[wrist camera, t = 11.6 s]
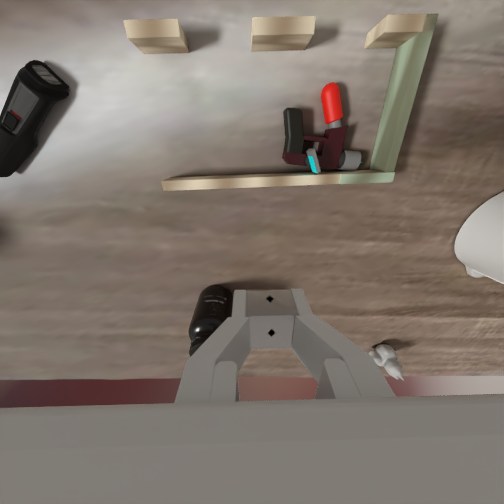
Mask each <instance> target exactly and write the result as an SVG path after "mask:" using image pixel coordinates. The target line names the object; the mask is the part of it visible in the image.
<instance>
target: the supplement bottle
mask: <svg viewBox="0 0 504 504" xmlns="http://www.w3.org/2000/svg"><path fill="white" fill-rule="evenodd" d="M232 308H233V295H232V293H231V292H230V291H229V290H228V289H226V288H224V287H221V286H210V287H208V288H206V289H204V290H203V291H202V292H201V294H200V296H199V299H198V302H197V305H196V308H195V311H194V314H193V317H192V320H191V324H190V327H189V337H190V339H191V341H192V342H191V347H190V351H189V355H190V357H191V356H192V355H193V354H194V353H195V352H196V351H197V350H198V348H199V347H200V346H201V345H202V344H203V343H204V342H205V341H206V340H207V339H208V338H209V337H210V336H211V335H212V334H213V333H214V332H215V331H216V329H217V328H218V327H219V326H220V325H221V324H222V323H223V322H224V321H225V320H226V319H227V318H228V317H232Z"/></svg>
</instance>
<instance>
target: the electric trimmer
mask: <svg viewBox="0 0 504 504" xmlns="http://www.w3.org/2000/svg"><path fill="white" fill-rule="evenodd" d="M68 88H69V86H68V85H67V84H66V83H65V82H64V81H63V80H62V79H61V78H60V77H59V76H57V75H56V74H55V73H54V72H53V71H52V70H51V69H50V68H49V67H48V66H47V65H46V64H45V63H43V62H41V61H38V60H33V61H30V62H28V63H27V64H26V65H25V67H23V68H22V69H20V70H19V72H18V74H17V76H16V77H15V79H14V82H13V84H12V87H11V90H10V92H9V95H8V97H7V100H6V102H5V105H4V107H3V110H2V112H1V115H0V177H8V176H10V175H12V174H13V173H14V172H15V171H16V170H17V169H18V167H19V166H20V165H21V164H22V163H23V162H24V161H25V160H26V159H27V157H28V156H29V155H30V154H31V153H32V152H33V150H34V149H35V148H36V147H37V141H36V138H35V135H36V133H37V131H38V130H39V128H40V126H41V125H42V123H43V121H44V120H45V118H46V116H47V115H48V113H49V111H50V109H51V108H52V106H53V104H54V103H55V101H58V100H61V99H64V98H66V97H67V96H68V95H69V94H68V92H67V90H68Z"/></svg>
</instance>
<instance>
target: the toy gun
mask: <svg viewBox="0 0 504 504" xmlns="http://www.w3.org/2000/svg"><path fill="white" fill-rule="evenodd" d="M321 99H322V105H323V111H324V117H325V123H326V124H329V129H327V130H325V132H324V137H314V136H305V135H303V116H302V110H301V109H296V108H286V109H285V110H284V112H283V114H284V126H285V136H286V138H285V145H284V152H283V157H282V158H283V159H284V161H285V162H286V163H287V164H292V165H303V166H308V167H311V169H312V172H314V173H319V172H321V170H320V167H321V168H331V169H338V170H347V171H355V170H356V169H357V168H358V167H359V165H360V163H363V162H361V153H360V152H358V151H348V150H343V151H342V147H343V143H344V140H345V136H346V132H347V128H348V126H344V127H342V125H341V118H343V111H342V104H341V96H340V89H339V86H338V84H336V83H334V82H332V83H329V84H327V85H326V86H325V87H324V88H323V90H322V93H321ZM304 141H313V142H319V146H318V151H317V155H316V151H315V148H312V149H308V150H307V154H302V149H303V143H304Z"/></svg>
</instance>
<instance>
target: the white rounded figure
mask: <svg viewBox="0 0 504 504" xmlns="http://www.w3.org/2000/svg"><path fill="white" fill-rule="evenodd" d="M369 355H370V356H372V358H373V359H374V361H375V363H377V365H379V366H384V367H385V369H386V371H387V372H388V373H389V374H390V375H391V376H393V377H395V378H396V379H399V378H401V379H402V380H404V379H403V377H402V376H401V375H402V374H403V371H402V365H401V364H400V363H399V362H398V361H397V359H398V355H397V353H396V352H395V350H394V349H393V348H392V347H391V346H389V345H385V344H381V345H378V346H377V347H376V348H375V349H374V350H372V351H370V352H369Z"/></svg>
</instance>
